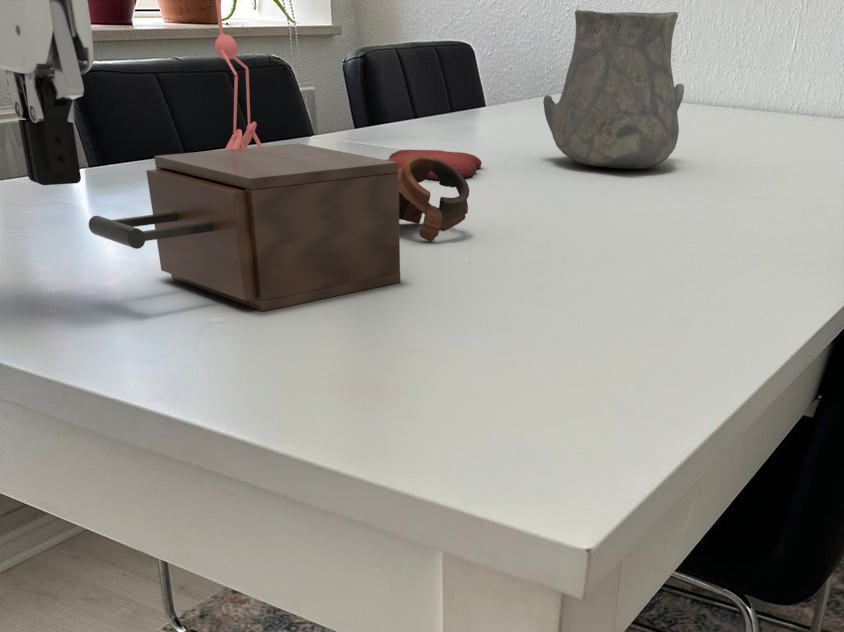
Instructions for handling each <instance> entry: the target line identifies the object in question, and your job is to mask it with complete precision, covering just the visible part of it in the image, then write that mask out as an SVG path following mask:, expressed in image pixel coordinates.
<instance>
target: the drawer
mask: <svg viewBox="0 0 844 632" xmlns="http://www.w3.org/2000/svg"><path fill="white" fill-rule="evenodd" d="M146 177H147V183H148V184H147V185H148V191H149V197H150V205H151V212H152V214H147V215H140V216H131V217H124V218H115V219H110V218H107V217H103V216H101V215H93V216H91V217H90V219H89V221H88V228H89V231H90V232H91V233H92V234H93V235H94V236H98V237H100V238H103V239H105V240H110V241H113V242H115V243H118V244H120V245H124V246H127V247H130V248H132V249H135V250H139V249H141V248H143V247H144V246H145V243H146V242H148V241H149V242H150V241H154V240H155V241H156V244H157V251H158V258H159V263H160V270H161V272H164V273H167V274H170V275H171V274H173V275H175V276H178V277H181V278H184V279H186V280H189V281H192V282H195V283H197V284H200V285H203V286H206V287H208V288H211V289H214V290H217V291H219V292H222V293H225V294H228V295H230V296H233V297H236V298H239V299H241V300H244V301H245V300H250V299H255V298H257V294H256V283H255V273H254V263H253V253H252V243H251V233H250V222H249V212H248V202H247V192H246V189H245V188H241V187H237V186H233V185H229V184H225V183H221V182H217V181H213V180H208V179H204V178H200V177H196V176H192V175H188V174H184V173H180V172H179V174H177V173H173V172H169V171H165V170H161V169H156V168H155V169H147V170H146ZM150 225H154V229H148V230H141V229H140V228H138V227H143V226H150Z"/></svg>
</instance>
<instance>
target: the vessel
mask: <svg viewBox="0 0 844 632" xmlns="http://www.w3.org/2000/svg"><path fill="white" fill-rule="evenodd" d="M574 16H575V17H574V19H575V38H574V45H573V48H572V54H571V59H570V62H569V66H568V69H567V72H566V76H565V81H564V85H563V89H562V92H561V95H560V97H559V101H558V102H555V101H554V100H553V97H552V96H551V95H549V94H546V95H544V97H543V101H542V102H543V103H542V104H543V111H544V116H545V119H546V122H547V125H548V127H549V130H550V132H551V136H552V138H553V141H554V143H555V146H556V147H557V148H558V150H560V152H561V153H562V154H563V155H565V156H566V157H567V158H569V159H571V160H572V161H574V162H577V163H580V164H582V165H587V166H589V167H591V166H592V167H602V168H611V169H621V170H641V169H646V168H647V169H648V168H651V167H654V166H658V165H660V164H661V163H663V162H664V161H666V160H667V159H668V158H669V157H670V156H671V155H672V154H673V152H674V150H675V149H676V147H677V143H678V140H679V134H680V133H679V132H680V127H679V126H680V125H679V115H678V111H679V110H680V106H681V104H682V102H683V98H684V93H685V85H684V84H683V83H676V84H674V76H673V69H672V68H673V67H672V50H673V49H672V48H673V47H672V46H673V38H674V31H675V27H676V24H677V20H678V17H679V13H678V12H677V11H669V12H668V11H667V12H635V11H627V12H626V11H622V12H621V11H620V12H601V11H594V10H581V9H576V10H575V11H574Z"/></svg>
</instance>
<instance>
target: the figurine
mask: <svg viewBox="0 0 844 632" xmlns="http://www.w3.org/2000/svg"><path fill="white" fill-rule="evenodd" d="M215 6H216V14H217V21H218V29H219V35H218V36H217V38H216V40H215V42H214V49H215V52H216V53H217V54H218V56H219V57H220V58H222V59H223V60H225V62H226V63H227V65H228V67H229V68H230V70H231V71H232V73H233V75H234V89H233V92H234V93H233V94H234V95H233V98H234V99H233V130H232V131H233V132H232V133H233V134H232V135H231V137H230V139H229V140H228V142H227V144H226V147H225V149H224V150H229V149H241V148H248V146H249V144H250V142H251V141H252V139H253V140H254V142H255V143H256V146H257V147H264V146H263V145H262V143H261V141H260V139H259V137H258V135H257V133H256V129H257V126H258V125H257V122H256V121H254V120H253V122H251V104H250V102H251V101H250V73H249V72H250V70H249V67H248V66H247V65H246V64H245V63H244V62H243V61H241V60H240V59H239V58H238V57H237V56H236V55H237V53H238V45H237V42H236V40H235V39H234V37H233V36H231V35H230V34H225V33H224V30H223V29H224V28H223V19H222V17H223V16H222V9H221V8H222V7H221V0H215ZM231 59H233V60H234V61H236V63H238V64H239V65H240V66H241V67H243V68H244V69H245V86H246V87H245V88H246V109H247V113H246V114H247V126H245V127H246V130H245V132H244V134H243V131H242V129H240V128H237V119H238V118H237V114H238V89H239V88H238V87H239V84H238V83H239V82H238V81H239V75H238V72H237V71H236V70H235V68H234V66H233V64H232V63H231V61H230V60H231Z"/></svg>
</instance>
